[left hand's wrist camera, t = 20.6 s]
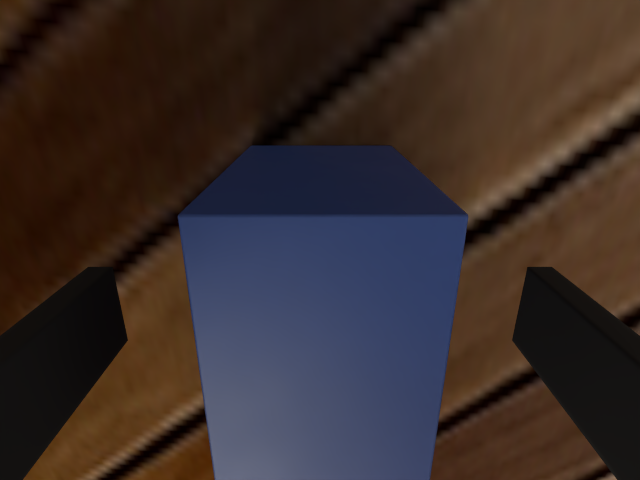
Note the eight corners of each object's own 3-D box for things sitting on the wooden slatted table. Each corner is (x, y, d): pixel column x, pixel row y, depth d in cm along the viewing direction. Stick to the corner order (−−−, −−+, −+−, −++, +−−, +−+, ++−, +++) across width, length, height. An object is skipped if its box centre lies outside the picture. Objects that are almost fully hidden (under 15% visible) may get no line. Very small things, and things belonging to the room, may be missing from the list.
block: (250, 145, 15) (176, 214, 7) (391, 145, 15) (469, 214, 7) (262, 331, 19) (219, 519, 11) (379, 330, 19) (424, 518, 11)
